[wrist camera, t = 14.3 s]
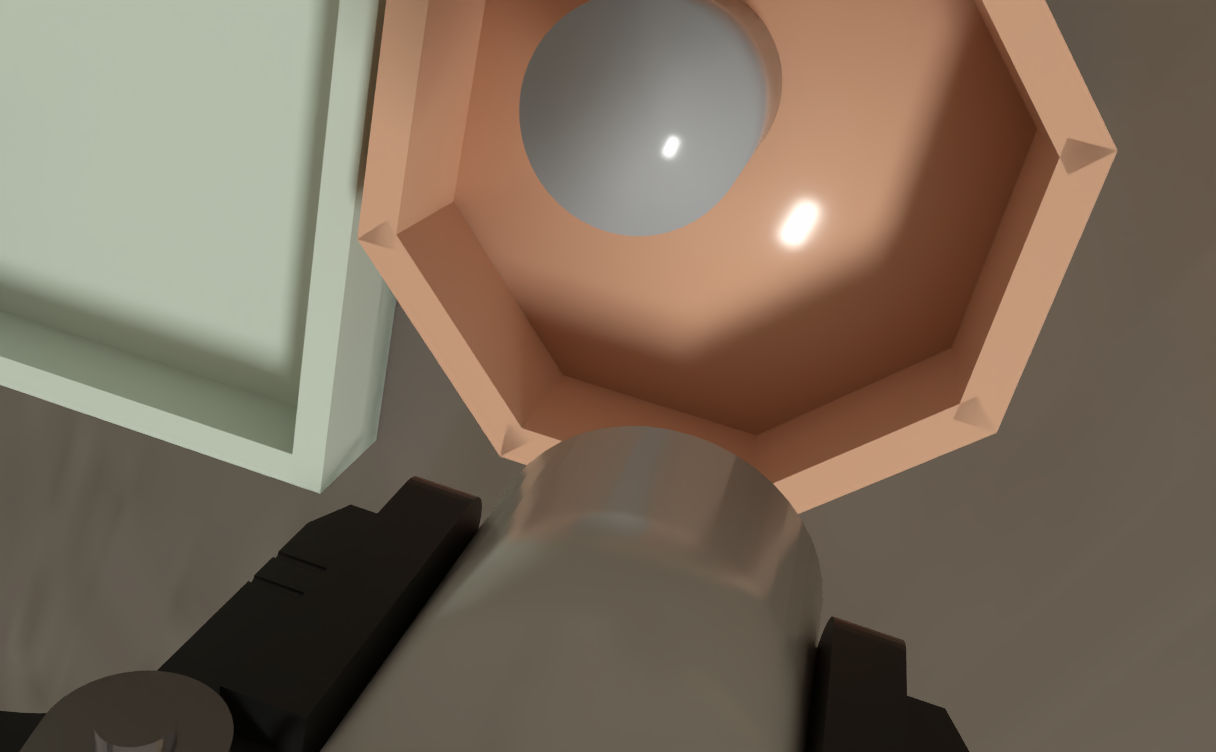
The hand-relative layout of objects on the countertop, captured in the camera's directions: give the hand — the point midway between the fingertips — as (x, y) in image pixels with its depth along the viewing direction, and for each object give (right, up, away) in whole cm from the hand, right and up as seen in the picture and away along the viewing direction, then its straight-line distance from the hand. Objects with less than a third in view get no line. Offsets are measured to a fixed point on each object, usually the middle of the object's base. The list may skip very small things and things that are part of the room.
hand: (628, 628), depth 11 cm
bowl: (+2, +7, +12) cm, 14 cm away
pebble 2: (0, 0, +1) cm, 1 cm away
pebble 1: (+1, +8, +10) cm, 14 cm away
